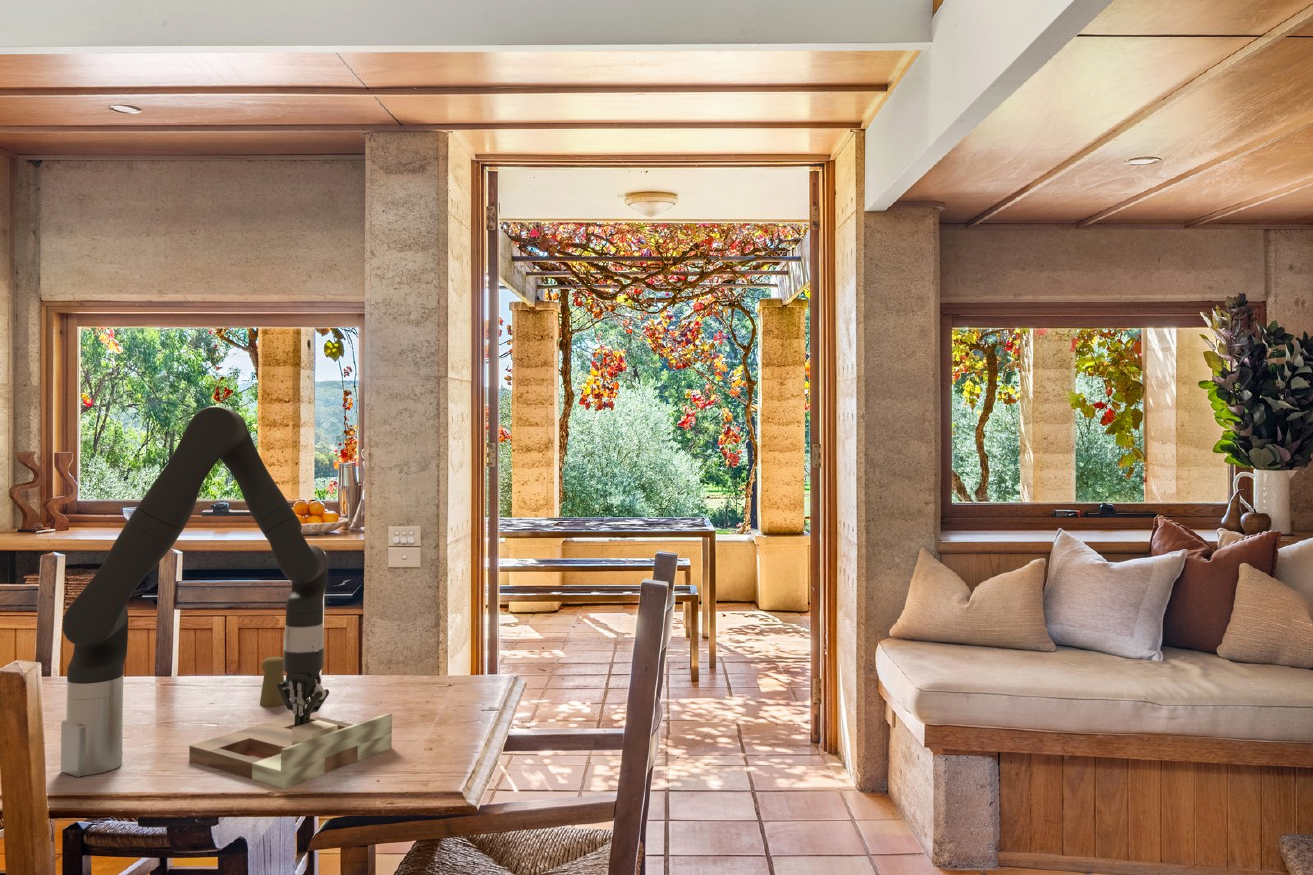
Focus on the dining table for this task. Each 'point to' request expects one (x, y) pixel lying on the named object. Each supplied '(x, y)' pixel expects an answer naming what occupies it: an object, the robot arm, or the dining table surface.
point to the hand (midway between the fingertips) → (302, 733)
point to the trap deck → (292, 749)
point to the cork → (272, 682)
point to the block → (311, 731)
